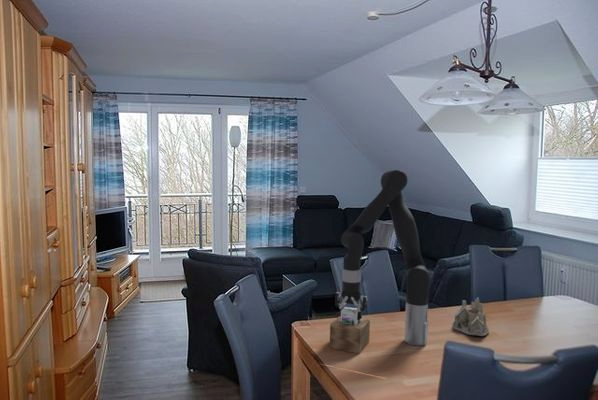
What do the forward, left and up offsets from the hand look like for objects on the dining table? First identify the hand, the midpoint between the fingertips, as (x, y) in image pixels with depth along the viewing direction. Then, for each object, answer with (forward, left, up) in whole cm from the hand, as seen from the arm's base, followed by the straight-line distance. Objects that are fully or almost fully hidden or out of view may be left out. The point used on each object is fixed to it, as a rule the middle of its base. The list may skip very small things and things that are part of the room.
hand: (350, 318), depth 189 cm
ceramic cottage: (-44, -42, -12) cm, 62 cm away
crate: (0, 0, -12) cm, 12 cm away
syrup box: (0, 0, -11) cm, 11 cm away
